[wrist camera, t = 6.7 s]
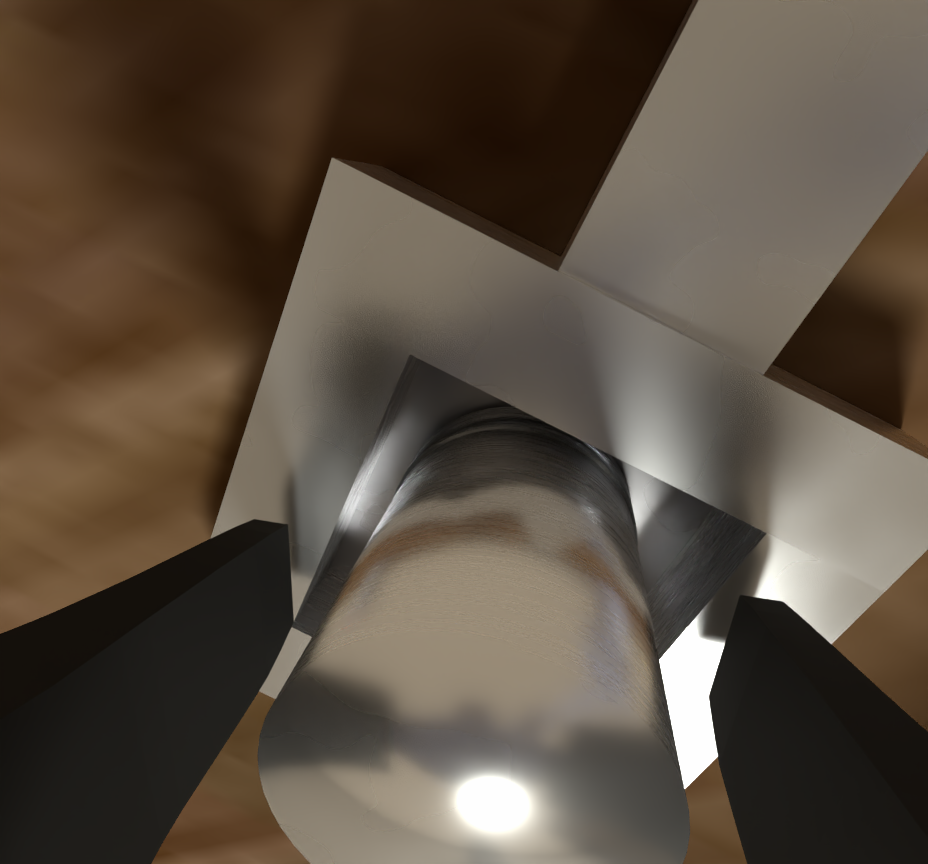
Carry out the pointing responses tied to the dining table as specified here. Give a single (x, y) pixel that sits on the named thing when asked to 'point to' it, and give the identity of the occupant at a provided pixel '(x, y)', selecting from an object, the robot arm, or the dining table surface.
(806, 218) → the grey piece
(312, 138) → the dining table surface
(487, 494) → the shiny metal cylinder
